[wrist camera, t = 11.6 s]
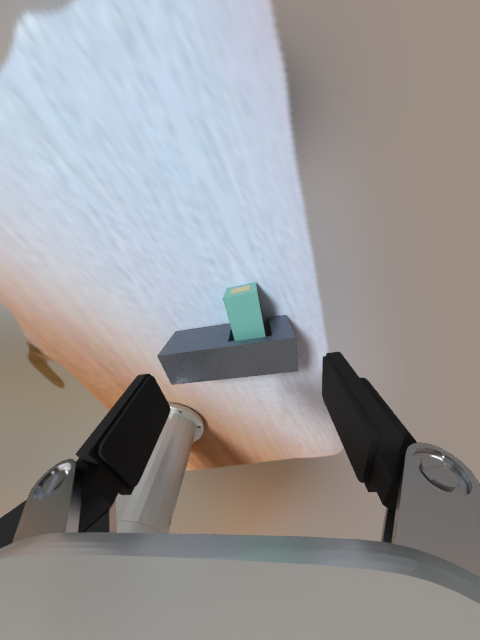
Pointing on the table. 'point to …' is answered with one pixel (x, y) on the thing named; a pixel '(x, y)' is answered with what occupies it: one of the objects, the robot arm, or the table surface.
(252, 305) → the plug
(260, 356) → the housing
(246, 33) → the table surface
